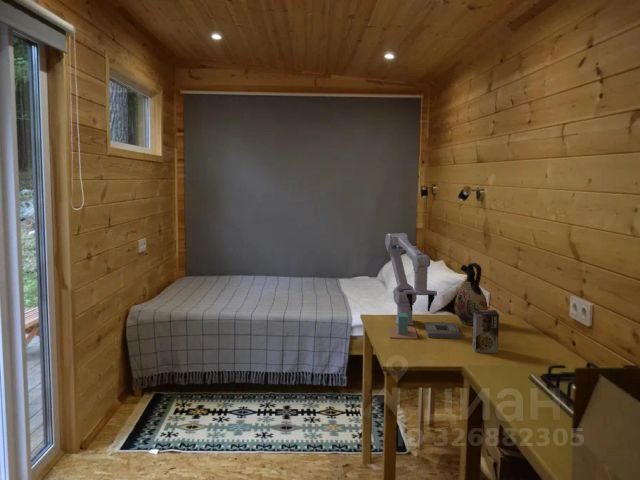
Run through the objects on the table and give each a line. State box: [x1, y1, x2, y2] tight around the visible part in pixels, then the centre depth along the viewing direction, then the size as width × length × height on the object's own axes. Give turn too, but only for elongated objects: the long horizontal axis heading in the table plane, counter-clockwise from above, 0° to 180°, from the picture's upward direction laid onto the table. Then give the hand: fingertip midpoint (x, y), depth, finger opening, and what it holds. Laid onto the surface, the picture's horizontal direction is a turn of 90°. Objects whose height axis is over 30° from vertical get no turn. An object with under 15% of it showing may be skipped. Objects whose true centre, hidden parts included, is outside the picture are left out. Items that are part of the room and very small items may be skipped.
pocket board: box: [424, 321, 462, 339], centre depth 241 cm, size 18×14×2 cm
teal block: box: [397, 313, 409, 334], centre depth 238 cm, size 6×4×8 cm, turn 175°
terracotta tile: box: [388, 326, 418, 340], centre depth 239 cm, size 16×12×1 cm
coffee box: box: [472, 309, 500, 354], centre depth 215 cm, size 9×6×16 cm
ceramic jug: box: [454, 262, 489, 326], centre depth 254 cm, size 17×15×30 cm
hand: (420, 310), depth 242 cm, fingers open, 7 cm apart
